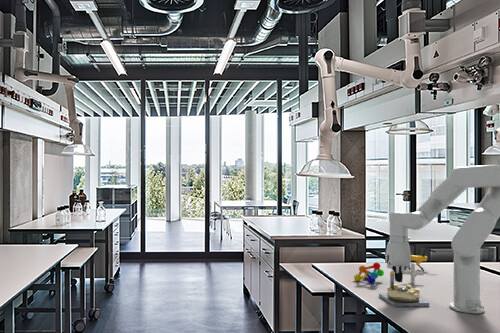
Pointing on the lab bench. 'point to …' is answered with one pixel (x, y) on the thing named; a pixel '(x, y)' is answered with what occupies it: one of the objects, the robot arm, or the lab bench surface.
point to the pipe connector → (413, 273)
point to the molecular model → (369, 273)
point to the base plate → (402, 303)
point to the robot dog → (420, 258)
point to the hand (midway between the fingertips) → (398, 281)
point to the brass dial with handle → (402, 291)
